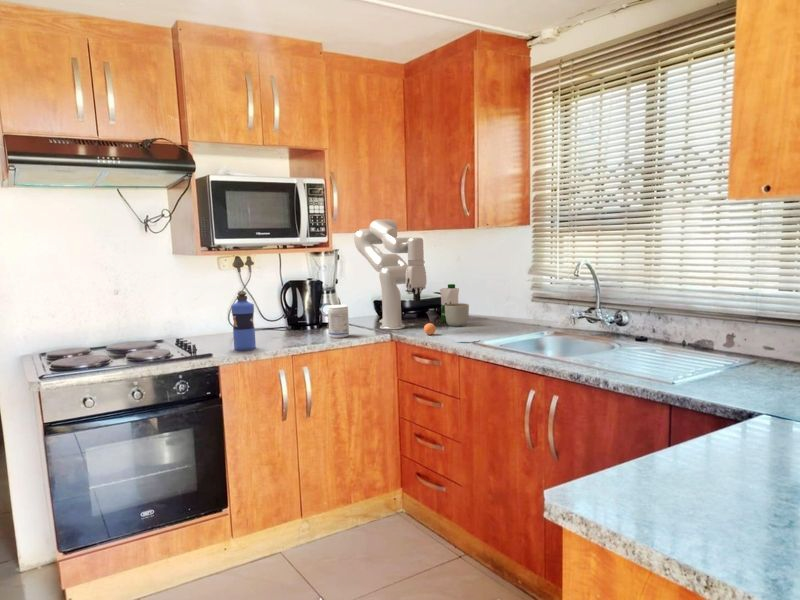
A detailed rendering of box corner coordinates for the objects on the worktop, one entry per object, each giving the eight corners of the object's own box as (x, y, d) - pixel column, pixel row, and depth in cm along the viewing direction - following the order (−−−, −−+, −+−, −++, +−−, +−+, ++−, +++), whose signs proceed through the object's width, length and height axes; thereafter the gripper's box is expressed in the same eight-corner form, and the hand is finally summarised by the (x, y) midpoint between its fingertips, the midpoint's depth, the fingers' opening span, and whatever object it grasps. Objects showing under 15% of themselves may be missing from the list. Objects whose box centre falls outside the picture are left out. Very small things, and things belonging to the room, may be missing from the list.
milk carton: (461, 320, 309) (460, 284, 307) (451, 323, 302) (451, 285, 300) (448, 319, 315) (447, 283, 313) (438, 321, 308) (437, 285, 306)
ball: (421, 334, 268) (421, 323, 267) (430, 333, 271) (429, 322, 271) (429, 336, 263) (429, 324, 263) (438, 334, 267) (437, 323, 266)
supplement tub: (330, 335, 275) (329, 304, 273) (350, 334, 275) (348, 304, 273) (327, 338, 265) (326, 307, 264) (348, 338, 265) (346, 306, 263)
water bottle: (234, 351, 239) (231, 292, 237) (232, 347, 248) (229, 290, 245) (257, 349, 243) (254, 291, 240) (254, 345, 251) (251, 289, 249)
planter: (461, 328, 285) (460, 306, 284) (440, 326, 292) (440, 305, 291) (473, 324, 295) (473, 303, 294) (453, 323, 302) (452, 302, 301)
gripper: (422, 262, 278) (423, 300, 280) (398, 264, 268) (400, 302, 270) (432, 263, 272) (433, 301, 274) (409, 264, 262) (410, 304, 264)
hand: (416, 301), depth 272 cm, fingers closed
